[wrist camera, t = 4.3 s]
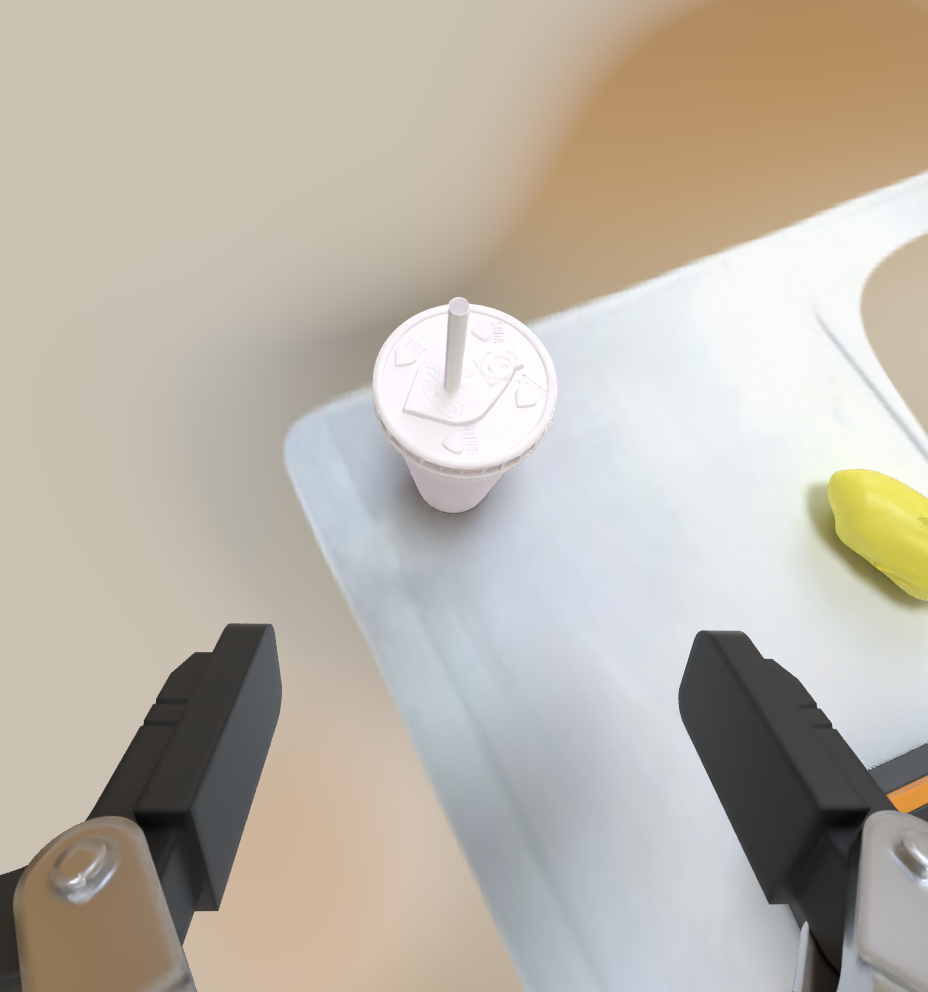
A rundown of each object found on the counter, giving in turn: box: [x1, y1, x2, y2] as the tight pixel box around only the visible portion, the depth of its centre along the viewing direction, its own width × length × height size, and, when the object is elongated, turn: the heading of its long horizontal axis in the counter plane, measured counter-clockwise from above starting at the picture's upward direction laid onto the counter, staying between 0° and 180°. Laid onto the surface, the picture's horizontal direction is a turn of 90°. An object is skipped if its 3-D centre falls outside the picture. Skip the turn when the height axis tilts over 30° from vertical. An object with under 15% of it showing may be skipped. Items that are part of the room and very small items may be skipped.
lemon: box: [827, 469, 928, 601], centre depth 27 cm, size 4×8×4 cm, turn 38°
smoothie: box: [373, 298, 558, 513], centre depth 21 cm, size 6×6×14 cm
